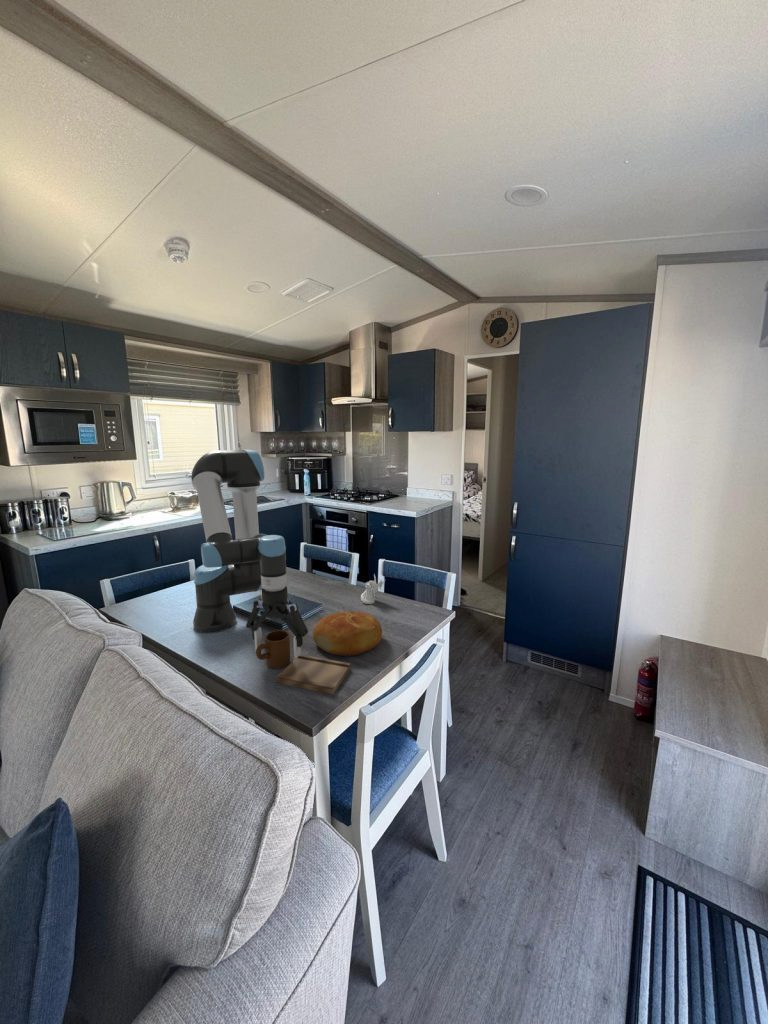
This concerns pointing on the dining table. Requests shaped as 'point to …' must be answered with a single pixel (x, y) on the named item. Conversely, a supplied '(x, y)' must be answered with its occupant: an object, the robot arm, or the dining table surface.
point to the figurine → (371, 591)
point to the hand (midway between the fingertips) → (277, 652)
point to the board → (314, 674)
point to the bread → (347, 633)
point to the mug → (275, 649)
